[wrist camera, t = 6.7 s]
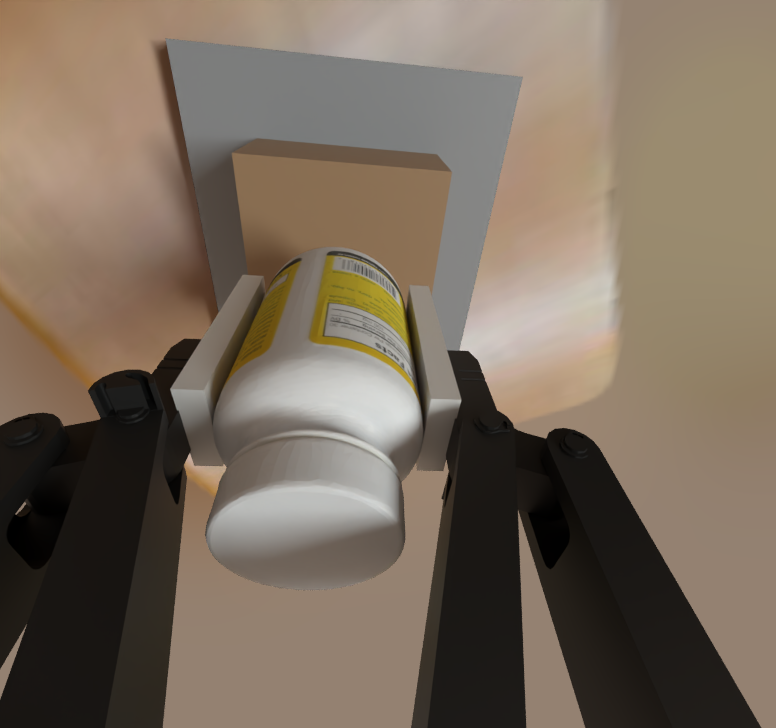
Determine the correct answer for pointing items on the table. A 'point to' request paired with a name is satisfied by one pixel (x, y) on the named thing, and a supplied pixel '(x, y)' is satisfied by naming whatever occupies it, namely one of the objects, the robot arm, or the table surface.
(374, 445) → the supplement bottle
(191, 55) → the base
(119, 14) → the table surface
